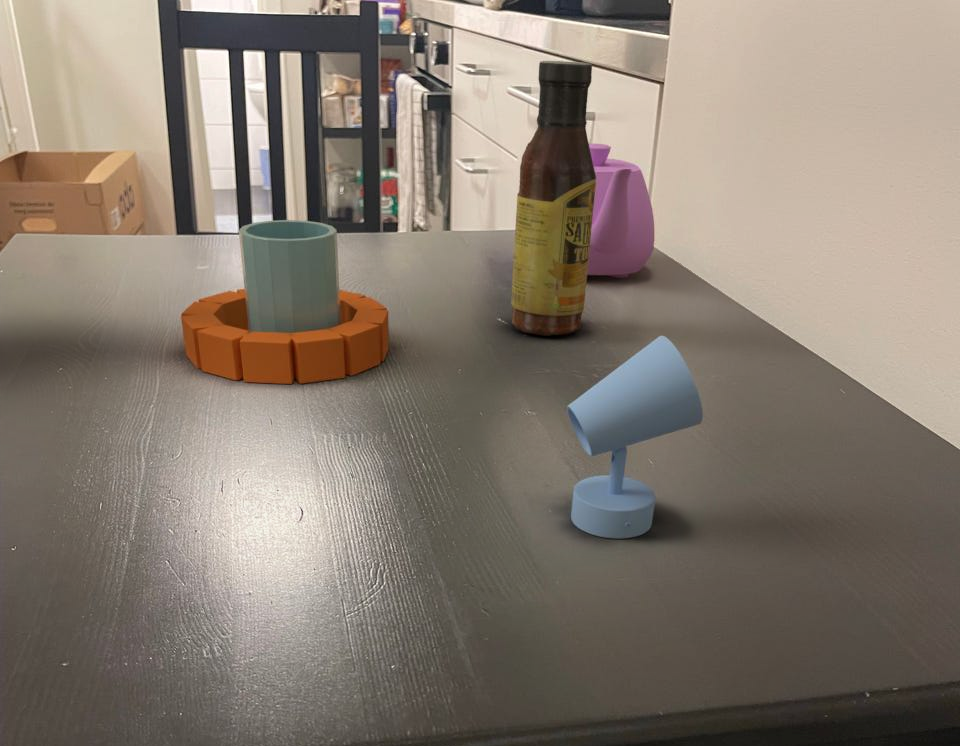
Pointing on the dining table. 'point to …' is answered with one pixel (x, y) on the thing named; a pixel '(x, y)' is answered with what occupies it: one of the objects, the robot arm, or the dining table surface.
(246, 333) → the ring
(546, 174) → the sauce bottle
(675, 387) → the spotlight
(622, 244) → the teapot
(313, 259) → the teal cup
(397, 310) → the dining table surface
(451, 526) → the dining table surface
